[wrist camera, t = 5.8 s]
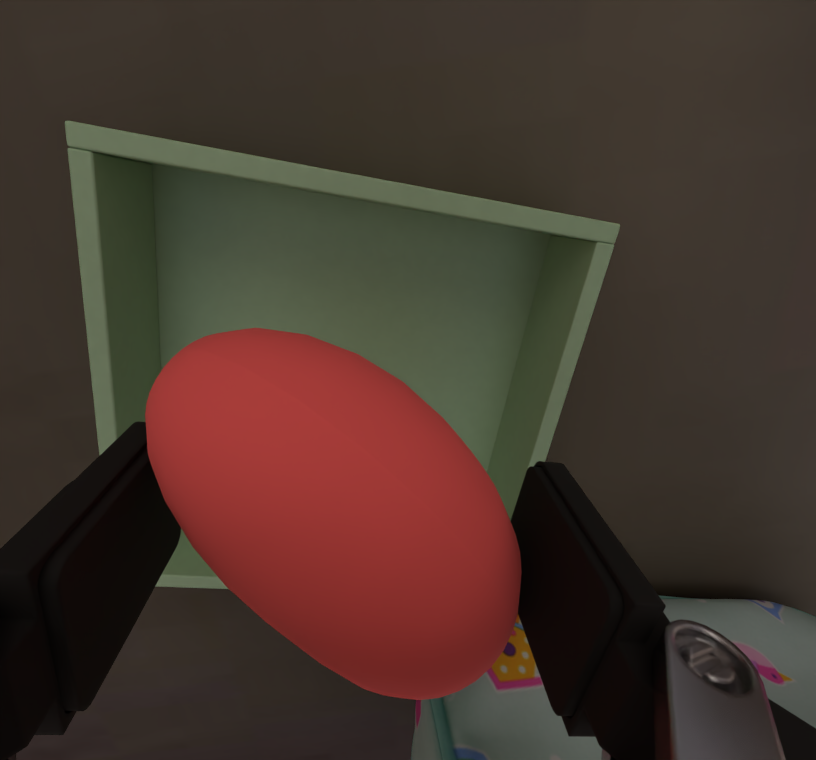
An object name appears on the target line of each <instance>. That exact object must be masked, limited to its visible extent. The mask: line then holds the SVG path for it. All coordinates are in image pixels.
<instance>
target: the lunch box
mask: <svg viewBox="0 0 816 760" xmlns="http://www.w3.org/2000/svg"><path fill="white" fill-rule="evenodd" d="M658 596H659V597H660V598H661V600H662V601H663V602H664V604H665V605H666V607H665V609H664V611H663V612H664V614H665V615H666V617H667V618H668V619H669V621H670V622H671V621H675V620H679V619H683V620H691V621H695V622H698V623H700V624H703V625H706V626H708V627H710V628H711V629H713V630H715V631H717V632H719V633H721V634H722V635H723V636H725V637H726V638H727V639H729V640H730V641H731V642H733V643H734V644H735V645H736V646H737V647H738V648H739V649H740V650H741V651H742V652H743V653H744V654H745V655H746V656H747V657H748V658H749V659H750V661H751V662H752V663H753V665H754V666H755V667H756V669H757V670H758V672H759V675H760V677H761V679H762V681H763V684H764V687H765V691H766V694H767V697H768V698H769V699H770V700H772V701H773V702H775V703H777V704H778V705H780V706H781V707H783V708H784V709H786V710H788V711H789V712H791V713H792V714H794V715H796V716H797V717H799V718H800V719H802V720H803V721H805V722H807V723H808V724H810V725H811V726H813V727H815V728H816V617H815V616H813V615H810V614H808V613H805V612H803V611H800V610H797V609H795V608H792V607H788V606H785V605H781V604H778V603H775V602H769V601H764V600H745V599H698V598H682V597H670V596H660V595H658ZM601 755H602V748H601V747H600V746H599V744H598V742H597V739H596V737H569V736H568V733H567V730H566V728H565V725H564V722H563V720H562V717H561V716H557V715H556V714H555V713H554V711H553V710H552V707H551V705H550V702H549V699H548V697H547V694H546V691H545V688H544V685H543V683H542V680H541V677H540V674H539V671H538V669H537V666H536V663H535V660H534V657H533V654H532V652H531V649H530V646H529V643H528V640H527V638H526V635H525V632H524V629H523V626H522V624H521V621H520V618H519V615H518V614H517V618H516V622H515V625H514V629H513V632H512V634H511V636H510V638H509V640H508V643H507V645H506V647H505V649H504V651H503V652H502V653H501V655H500V656H499V657H498V659H497V660H496V661H495V663H494V664H493V665H492V667H491V668H490V669H489V670H488V671H486V672H485V673H484V674H483V675H482V676H481V677H480V678H479V679H478V680H476V681H475V682H473V683H472V684H470V685H468V686H467V687H465V688H463V689H462V690H460V691H458V692H455V693H452V694H449V695H446V696H443V697H440V698H434V699H425V700H416V709H415V731H414V735H413V743H412V754H411V760H601Z"/></svg>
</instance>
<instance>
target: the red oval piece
mask: <svg viewBox="0 0 816 760" xmlns="http://www.w3.org/2000/svg"><path fill="white" fill-rule="evenodd" d="M145 421H146V434H147V450H148V456H149V460H150V463H151V466H152V469H153V471H154V474H155V477H156V479H157V482H158V484H159V487H160V490H161V492H162V495H163V498H164V500H165V502H166V504H167V505H168V507H169V509H170V510H171V512H172V514H173V515H174V517H175V519H176V520H177V522H178V524H179V525H180V527H181V529H182V530H183V532H184V533H185V535H186V537H187V538H188V540H189V542H190V543H191V545H192V547H193V548H194V549H195V550H196V551H197V553H198V554H199V555H200V556H201V557H202V559H203V560H204V561H205V562H206V563H207V564H208V566H209V567H210V568H211V569H212V570H213V572H214V573H215V574H216V575H217V576H218V577H219V579H220V580H221V581H222V582H223V583H224V585H225V586H226V587H227V588H228V589H229V590H231V591H232V592H233V593H234V594H235V595H236V596H237V597H238V598H240V599H241V600H242V601H243V602H244V603H245V604H246V605H247V606H248V607H250V608H251V609H252V610H253V611H254V612H255V613H256V614H257V615H258V616H260V617H261V618H262V619H263V620H264V621H265V622H266V623H268V624H269V625H270V626H272V627H273V628H274V629H276V630H277V631H278V632H279V633H281V634H282V635H283V636H285V637H286V638H287V639H289V640H290V641H291V642H292V643H294V644H295V645H296V646H298V647H299V648H300V649H302V650H303V651H304V652H306V653H307V654H308V655H310V656H311V657H312V658H314V659H315V660H316V661H318V662H319V663H320V664H322V665H324V666H325V667H327V668H329V669H330V670H332V671H334V672H336V673H337V674H339V675H341V676H342V677H344V678H346V679H347V680H349V681H351V682H352V683H354V684H356V685H358V686H359V687H361V688H363V689H365V690H368V691H371V692H375V693H378V694H381V695H385V696H391V697H397V698H405V699H414V700H425V699H434V698H440V697H443V696H446V695H449V694H452V693H455V692H458V691H460V690H462V689H463V688H465V687H467V686H468V685H470V684H472V683H473V682H475V681H476V680H478V679H479V678H480V677H481V676H482V675H483V674H484V673H485V672H486V671H488V670H489V669H490V668H491V667H492V665H493V664H494V663H495V661H496V660H497V659H498V657H499V656H500V655H501V653H502V652H503V651H504V649H505V647H506V645H507V643H508V640H509V638H510V636H511V634H512V632H513V629H514V625H515V622H516V618H517V614H518V606H519V597H520V586H521V574H522V570H521V556H520V549H519V545H518V542H517V538H516V534H515V531H514V529H513V526H512V524H511V521H510V519H509V516H508V514H507V511H506V509H505V507H504V504H503V502H502V499H501V497H500V495H499V493H498V491H497V489H496V487H495V485H494V483H493V482H492V480H491V478H490V477H489V475H488V474H487V472H486V471H485V469H484V468H483V466H482V465H481V464H480V462H479V461H478V460H477V458H476V457H475V455H474V454H473V453H472V452H471V450H470V449H469V448H468V447H467V445H466V444H465V443H464V442H463V440H462V439H461V438H460V437H459V436H458V435H457V433H456V432H455V431H454V430H453V429H452V427H451V426H450V425H449V424H448V423H447V422H446V421H445V420H444V418H443V417H442V416H441V415H440V414H438V413H437V412H436V411H435V410H434V409H433V408H432V407H431V406H430V405H428V404H427V403H426V402H425V401H424V400H423V399H422V398H421V397H419V396H418V395H417V394H416V393H415V392H414V391H413V390H412V389H411V388H409V387H408V386H407V385H406V384H405V383H404V382H403V381H401V380H400V379H398V378H396V377H395V376H393V375H391V374H390V373H388V372H386V371H385V370H383V369H382V368H380V367H378V366H377V365H375V364H373V363H372V362H370V361H368V360H367V359H365V358H364V357H362V356H360V355H359V354H357V353H354V352H351V351H349V350H346V349H343V348H341V347H338V346H335V345H333V344H330V343H328V342H325V341H322V340H320V339H317V338H314V337H312V336H309V335H306V334H299V333H292V332H285V331H278V330H270V329H263V328H249V329H241V330H235V331H228V332H222V333H216V334H212V335H208V336H205V337H202V338H200V339H198V340H196V341H194V342H192V343H191V344H189V345H187V346H186V347H184V348H183V349H182V350H180V351H179V352H178V353H177V354H176V355H175V356H174V357H172V359H171V360H170V361H169V362H168V363H167V364H166V365H165V366H164V368H163V369H162V371H161V372H160V374H159V375H158V377H157V378H156V380H155V382H154V384H153V386H152V388H151V390H150V393H149V396H148V400H147V403H146V411H145Z"/></svg>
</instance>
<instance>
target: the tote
mask: <svg viewBox="0 0 816 760" xmlns="http://www.w3.org/2000/svg"><path fill="white" fill-rule="evenodd" d="M65 130H66V139H67V145H68V146H69V147H71V148H68V158H69V168H70V178H71V187H72V197H73V206H74V216H75V226H76V235H77V245H78V254H79V264H80V274H81V283H82V293H83V302H84V312H85V322H86V331H87V341H88V350H89V360H90V370H91V379H92V389H93V398H94V408H95V418H96V427H97V437H98V446H99V456H100V455H101V454H102V453H103V452H104V451H105V450H106V449H107V448H108V447H109V446H110V445H111V444H112V443H113V442H114V441H115V440H116V439H118V438H119V437H120V436H121V435H122V434H123V433H124V432H125V431H126V430H127V429H128V428H129V427H130V426H131V425H132V424H133V423H135V422H138V421H139V422H146V421H145V411H146V403H147V400H148V396H149V393H150V390H151V388H152V386H153V384H154V382H155V380H156V378H157V377H158V375H159V374H160V372H161V371H162V369H163V368H164V366H165V365H166V364H167V363H168V362H169V361H170V360H171V359H172V357H174V356H175V355H176V354H177V353H178V352H179V351H180V350H182V349H183V348H184V347H186V346H187V345H189V344H191V343H192V342H194V341H196V340H198V339H200V338H202V337H205V336H208V335H212V334H216V333H222V332H228V331H235V330H241V329H249V328H263V329H270V330H278V331H285V332H292V333H299V334H306V335H309V336H312V337H314V338H317V339H320V340H322V341H325V342H328V343H330V344H333V345H335V346H338V347H341V348H343V349H346V350H349V351H351V352H354V353H357V354H359V355H360V356H362V357H364V358H365V359H367V360H368V361H370V362H372V363H373V364H375V365H377V366H378V367H380V368H382V369H383V370H385V371H386V372H388V373H390V374H391V375H393V376H395V377H396V378H398V379H400V380H401V381H403V382H404V383H405V384H406V385H407V386H408V387H409V388H411V389H412V390H413V391H414V392H415V393H416V394H417V395H418V396H419V397H421V398H422V399H423V400H424V401H425V402H426V403H427V404H428V405H430V406H431V407H432V408H433V409H434V410H435V411H436V412H437V413H438V414H440V415H441V416H442V417H443V418H444V420H445V421H446V422H447V423H448V424H449V425H450V426H451V427H452V429H453V430H454V431H455V432H456V433H457V435H458V436H459V437H460V438H461V439H462V440H463V442H464V443H465V444H466V445H467V447H468V448H469V449H470V450H471V452H472V453H473V454H474V455H475V457H476V458H477V460H478V461H479V462H480V464H481V465H482V466H483V468H484V469H485V471H486V472H487V474H488V475H489V477H490V478H491V480H492V482H493V483H494V485H495V487H496V489H497V491H498V493H499V495H500V497H501V499H502V502H503V504H504V507H505V509H506V511H507V514H508V516H509V519H510V521H511V518H512V515H513V512H514V508H515V505H516V502H517V499H518V496H519V493H520V490H521V487H522V484H523V480H524V477H525V474H526V471H527V469H528V468H529V467H530V466H533V467H534V465H535V464H536V462H538V461H543V462H545V460H546V457H547V454H548V451H549V448H550V445H551V441H552V438H553V435H554V432H555V429H556V426H557V423H558V420H559V417H560V413H561V410H562V407H563V404H564V401H565V398H566V395H567V392H568V388H569V385H570V382H571V379H572V376H573V373H574V370H575V367H576V364H577V360H578V357H579V354H580V351H581V348H582V345H583V342H584V339H585V336H586V332H587V329H588V326H589V323H590V320H591V317H592V314H593V311H594V307H595V304H596V301H597V298H598V295H599V292H600V289H601V286H602V283H603V279H604V276H605V273H606V270H607V267H608V264H609V261H610V258H611V254H612V251H613V248H614V245H613V244H614V243H615V241H616V238H617V235H618V232H619V228H620V225H619V224H617V223H611V222H606V221H601V220H595V219H590V218H585V217H579V216H574V215H569V214H563V213H558V212H553V211H547V210H542V209H537V208H531V207H526V206H521V205H515V204H510V203H505V202H499V201H494V200H489V199H483V198H478V197H473V196H468V195H462V194H457V193H452V192H446V191H441V190H436V189H430V188H425V187H420V186H414V185H409V184H404V183H398V182H393V181H388V180H382V179H377V178H372V177H366V176H361V175H356V174H350V173H345V172H340V171H334V170H329V169H324V168H318V167H313V166H308V165H302V164H297V163H292V162H286V161H281V160H276V159H270V158H265V157H260V156H254V155H249V154H244V153H238V152H233V151H228V150H222V149H217V148H212V147H206V146H201V145H196V144H190V143H185V142H180V141H174V140H169V139H164V138H158V137H153V136H148V135H142V134H137V133H132V132H126V131H121V130H116V129H110V128H105V127H100V126H94V125H89V124H84V123H78V122H73V121H65ZM156 586H158V587H186V588H215V589H228V588H227V587H226V586H225V585H224V583H223V582H222V581H221V580H220V579H219V577H218V576H217V575H216V574H215V573H214V572H213V570H212V569H211V568H210V567H209V566H208V564H207V563H206V562H205V561H204V560H203V559H202V557H201V556H200V555H199V554H198V553H197V551H196V550H195V549H194V548H193V547H192V545H191V543H190V542H189V540H188V538H187V537H186V535H185V533H184V532H183V530H182V529H181V534H180V539H179V542H178V545H177V547H176V549H175V551H174V553H173V555H172V556H171V558H170V560H169V562H168V564H167V566H166V567H165V569H164V571H163V573H162V575H161V577H160V578H159V580H158V582H157V584H156Z"/></svg>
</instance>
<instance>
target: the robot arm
mask: <svg viewBox="0 0 816 760" xmlns="http://www.w3.org/2000/svg"><path fill="white" fill-rule="evenodd" d="M511 524H512V526H513V529H514V531H515V534H516V538H517V542H518V545H519V549H520V556H521V570H522V574H521V586H520V597H519V606H518V615H519V618H520V621H521V624H522V626H523V629H524V632H525V635H526V638H527V640H528V643H529V646H530V649H531V652H532V654H533V657H534V660H535V663H536V666H537V669H538V671H539V674H540V677H541V680H542V683H543V685H544V688H545V691H546V694H547V697H548V699H549V702H550V705H551V707H552V710H553V711H554V713H555V714H556V715H557V716H561V717H562V720H563V722H564V725H565V728H566V730H567V733H568V736H569V737H596V739H597V742H598V744H599V746H600V747H601V748H602V755H601V760H816V728H815V727H813V726H811V725H810V724H808V723H807V722H805V721H803V720H802V719H800V718H799V717H797V716H796V715H794V714H792V713H791V712H789V711H788V710H786V709H784V708H783V707H781V706H780V705H778V704H777V703H775V702H773V701H772V700H770V699H769V698H768V697H767V694H766V691H765V687H764V684H763V681H762V679H761V677H760V675H759V672H758V670H757V669H756V667H755V666H754V665H753V663H752V662H751V661H750V659H749V658H748V657H747V656H746V655H745V654H744V653H743V652H742V651H741V650H740V649H739V648H738V647H737V646H736V645H735V644H734V643H733V642H731V641H730V640H729V639H727V638H726V637H725V636H723V635H722V634H721V633H719V632H717V631H715V630H713V629H711V628H710V627H708V626H706V625H703V624H700V623H698V622H695V621H691V620H683V619H679V620H675V621H671V622H670V621H669V619H668V618H667V617H666V615H665V614H664V612H663V611H664V609H665V607H666V605H665V604H664V602H663V601H662V600H661V598H660V597H659V596H658V594H657V593H656V591H655V590H654V589H653V587H652V586H651V585H650V583H649V582H648V580H647V579H646V578H645V576H644V575H643V573H642V572H641V571H640V569H639V568H638V567H637V565H636V564H635V562H634V561H633V560H632V558H631V557H630V556H629V554H628V553H627V551H626V550H625V549H624V547H623V546H622V544H621V543H620V542H619V540H618V539H617V538H616V536H615V535H614V533H613V532H612V531H611V529H610V528H609V527H608V525H607V524H606V522H605V521H604V520H603V518H602V517H601V515H600V514H599V513H598V511H597V510H596V509H595V507H594V506H593V504H592V503H591V502H590V500H589V499H588V497H587V496H586V495H585V493H584V492H583V491H582V489H581V488H580V486H579V485H578V484H577V482H576V481H575V480H574V478H573V477H572V475H571V474H570V473H569V471H568V470H567V468H566V467H565V466H564V465H563V464H561V463H553V462H543V461H538V462H536V464H535V465H534V467H533V466H530V467H529V468H528V469H527V471H526V474H525V477H524V480H523V484H522V487H521V490H520V493H519V496H518V499H517V502H516V505H515V508H514V512H513V515H512V518H511ZM180 534H181V527H180V525H179V524H178V522H177V520H176V519H175V517H174V515H173V514H172V512H171V510H170V509H169V507H168V505H167V504H166V502H165V500H164V498H163V495H162V492H161V490H160V487H159V484H158V482H157V479H156V477H155V474H154V471H153V469H152V466H151V463H150V460H149V456H148V450H147V434H146V422H139V421H138V422H135V423H133V424H132V425H131V426H130V427H129V428H128V429H127V430H126V431H125V432H124V433H123V434H122V435H121V436H120V437H119V438H118V439H116V440H115V441H114V442H113V443H112V444H111V445H110V446H109V447H108V448H107V449H106V450H105V451H104V452H103V453H102V454H101V455H100V456H99V457H98V458H97V459H96V460H95V461H94V462H93V463H92V464H91V465H90V466H89V467H88V468H87V469H85V470H84V471H83V472H82V473H81V474H80V475H79V476H78V477H77V478H76V479H75V480H74V481H72V482H71V483H69V484H68V485H67V486H65V487H64V488H63V489H62V490H61V491H60V492H59V493H58V494H57V495H56V496H55V497H54V498H53V499H52V500H51V501H50V502H49V503H48V504H47V505H46V506H45V507H44V508H42V509H41V510H40V511H39V512H38V513H37V514H36V515H35V516H34V517H33V518H32V519H31V520H30V521H29V522H28V523H27V524H26V525H25V526H24V527H23V528H22V529H21V530H20V531H19V532H18V533H16V534H15V535H14V536H13V537H12V538H11V539H10V540H9V541H8V542H7V543H6V544H5V545H4V546H3V547H2V548H1V549H0V760H16V753H17V752H19V751H20V750H22V749H23V748H25V747H27V746H28V744H29V742H30V741H31V739H32V738H33V736H34V735H63V734H64V732H65V731H66V729H67V727H68V725H69V724H70V722H71V720H72V718H73V717H74V715H75V713H76V711H84V710H86V709H87V708H88V707H89V705H90V704H91V703H92V701H93V699H94V698H95V696H96V694H97V692H98V690H99V688H100V687H101V685H102V683H103V681H104V679H105V677H106V676H107V674H108V672H109V670H110V668H111V666H112V665H113V663H114V661H115V659H116V657H117V655H118V654H119V652H120V650H121V648H122V646H123V644H124V643H125V641H126V639H127V637H128V635H129V633H130V632H131V630H132V628H133V626H134V624H135V622H136V621H137V619H138V617H139V615H140V613H141V611H142V610H143V608H144V606H145V604H146V602H147V600H148V599H149V597H150V595H151V593H152V591H153V589H154V588H155V586H156V584H157V582H158V580H159V578H160V577H161V575H162V573H163V571H164V569H165V567H166V566H167V564H168V562H169V560H170V558H171V556H172V555H173V553H174V551H175V549H176V547H177V545H178V542H179V539H180Z"/></svg>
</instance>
